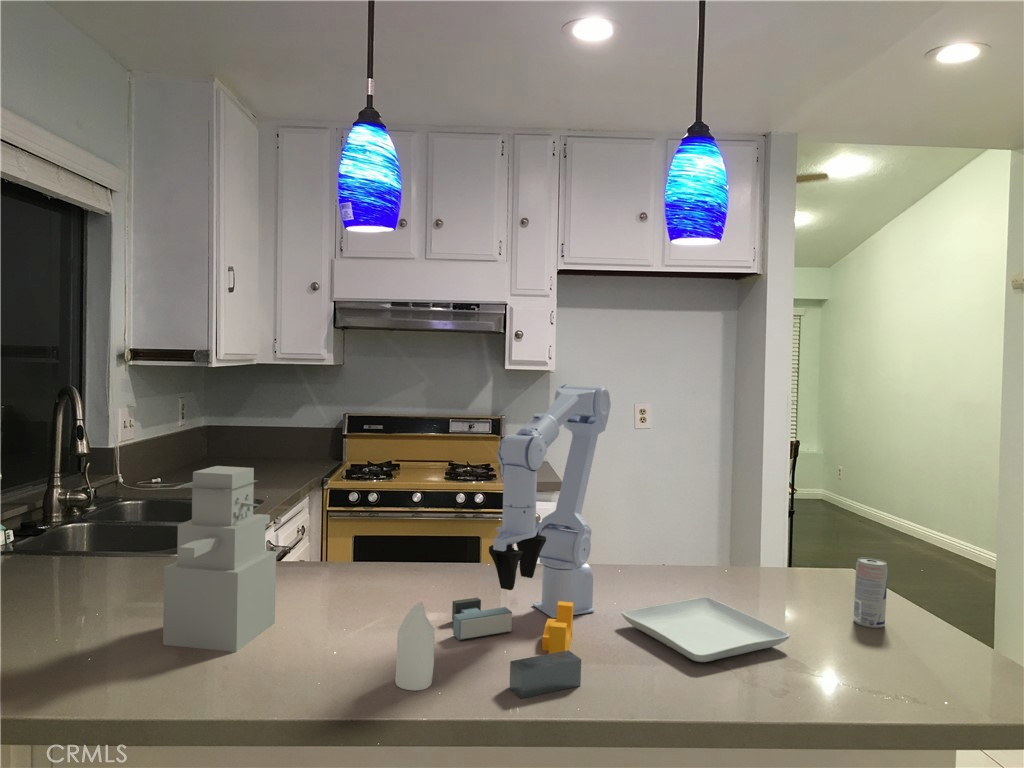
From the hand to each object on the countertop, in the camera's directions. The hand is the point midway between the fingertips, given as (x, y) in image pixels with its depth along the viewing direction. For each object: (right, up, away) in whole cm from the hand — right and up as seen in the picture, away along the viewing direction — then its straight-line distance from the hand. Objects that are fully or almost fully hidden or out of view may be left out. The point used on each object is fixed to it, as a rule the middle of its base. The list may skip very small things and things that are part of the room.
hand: (517, 582), depth 124 cm
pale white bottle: (-15, -10, -18) cm, 25 cm away
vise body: (+4, -10, -18) cm, 21 cm away
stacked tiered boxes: (-50, -8, -2) cm, 51 cm away
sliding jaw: (-7, -9, +4) cm, 12 cm away
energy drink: (+67, -11, +13) cm, 69 cm away
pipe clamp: (+6, -10, -4) cm, 13 cm away
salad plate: (+33, -11, +3) cm, 35 cm away
